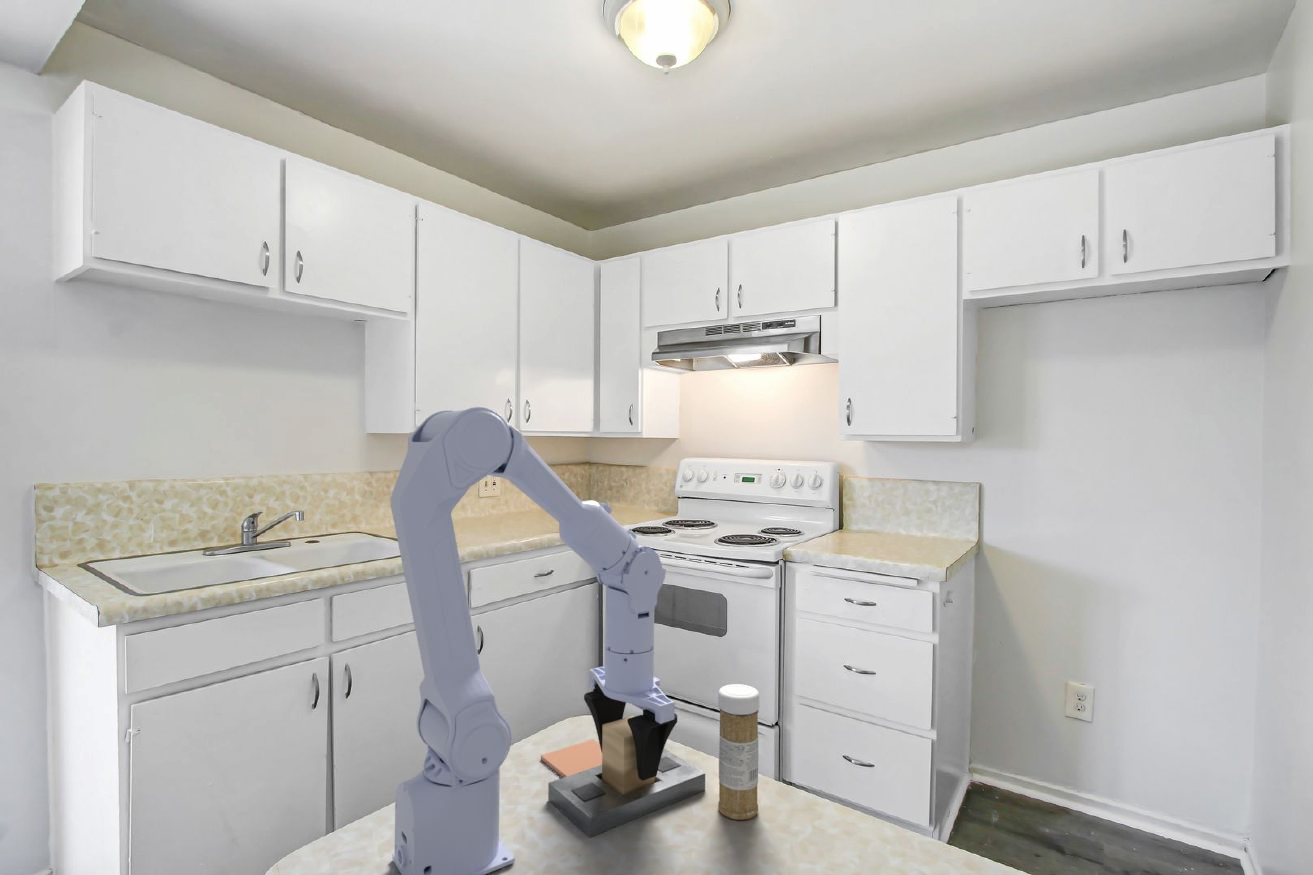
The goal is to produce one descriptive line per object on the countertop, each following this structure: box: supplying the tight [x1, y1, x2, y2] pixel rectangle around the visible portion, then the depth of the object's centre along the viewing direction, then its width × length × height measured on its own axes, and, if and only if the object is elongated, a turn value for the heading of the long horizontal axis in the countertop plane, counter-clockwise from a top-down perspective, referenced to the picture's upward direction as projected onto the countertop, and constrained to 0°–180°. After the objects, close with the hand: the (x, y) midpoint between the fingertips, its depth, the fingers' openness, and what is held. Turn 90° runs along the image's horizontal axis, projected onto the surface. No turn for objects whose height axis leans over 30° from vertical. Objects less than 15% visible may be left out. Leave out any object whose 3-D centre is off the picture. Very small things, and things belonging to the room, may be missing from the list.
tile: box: [540, 739, 602, 778], centre depth 85 cm, size 8×8×1 cm
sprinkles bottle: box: [717, 683, 760, 821], centre depth 74 cm, size 5×5×14 cm
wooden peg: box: [602, 715, 655, 795], centre depth 77 cm, size 4×4×8 cm
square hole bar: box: [547, 748, 706, 838], centre depth 77 cm, size 16×9×2 cm, turn 127°
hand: (628, 763), depth 77 cm, fingers open, 7 cm apart
